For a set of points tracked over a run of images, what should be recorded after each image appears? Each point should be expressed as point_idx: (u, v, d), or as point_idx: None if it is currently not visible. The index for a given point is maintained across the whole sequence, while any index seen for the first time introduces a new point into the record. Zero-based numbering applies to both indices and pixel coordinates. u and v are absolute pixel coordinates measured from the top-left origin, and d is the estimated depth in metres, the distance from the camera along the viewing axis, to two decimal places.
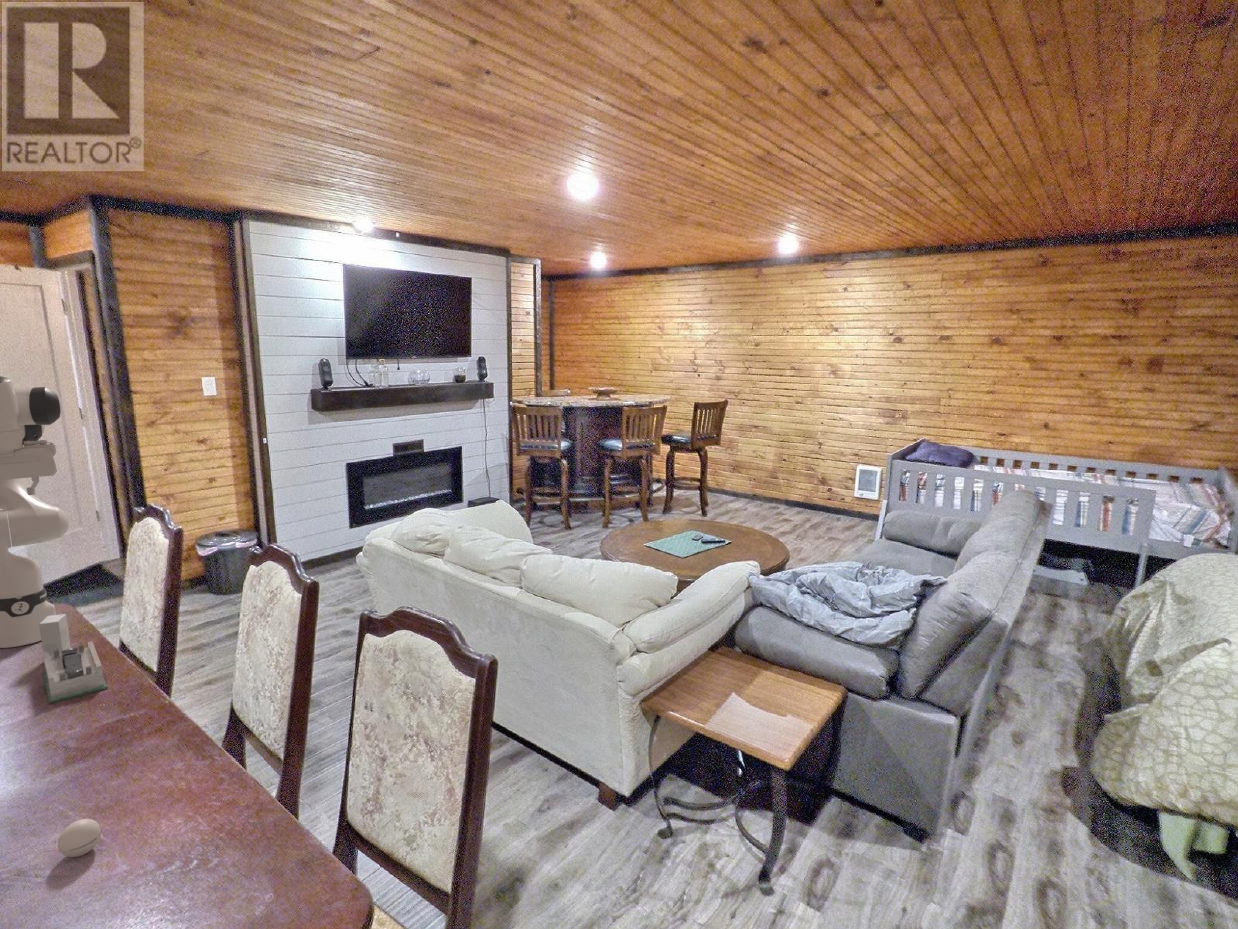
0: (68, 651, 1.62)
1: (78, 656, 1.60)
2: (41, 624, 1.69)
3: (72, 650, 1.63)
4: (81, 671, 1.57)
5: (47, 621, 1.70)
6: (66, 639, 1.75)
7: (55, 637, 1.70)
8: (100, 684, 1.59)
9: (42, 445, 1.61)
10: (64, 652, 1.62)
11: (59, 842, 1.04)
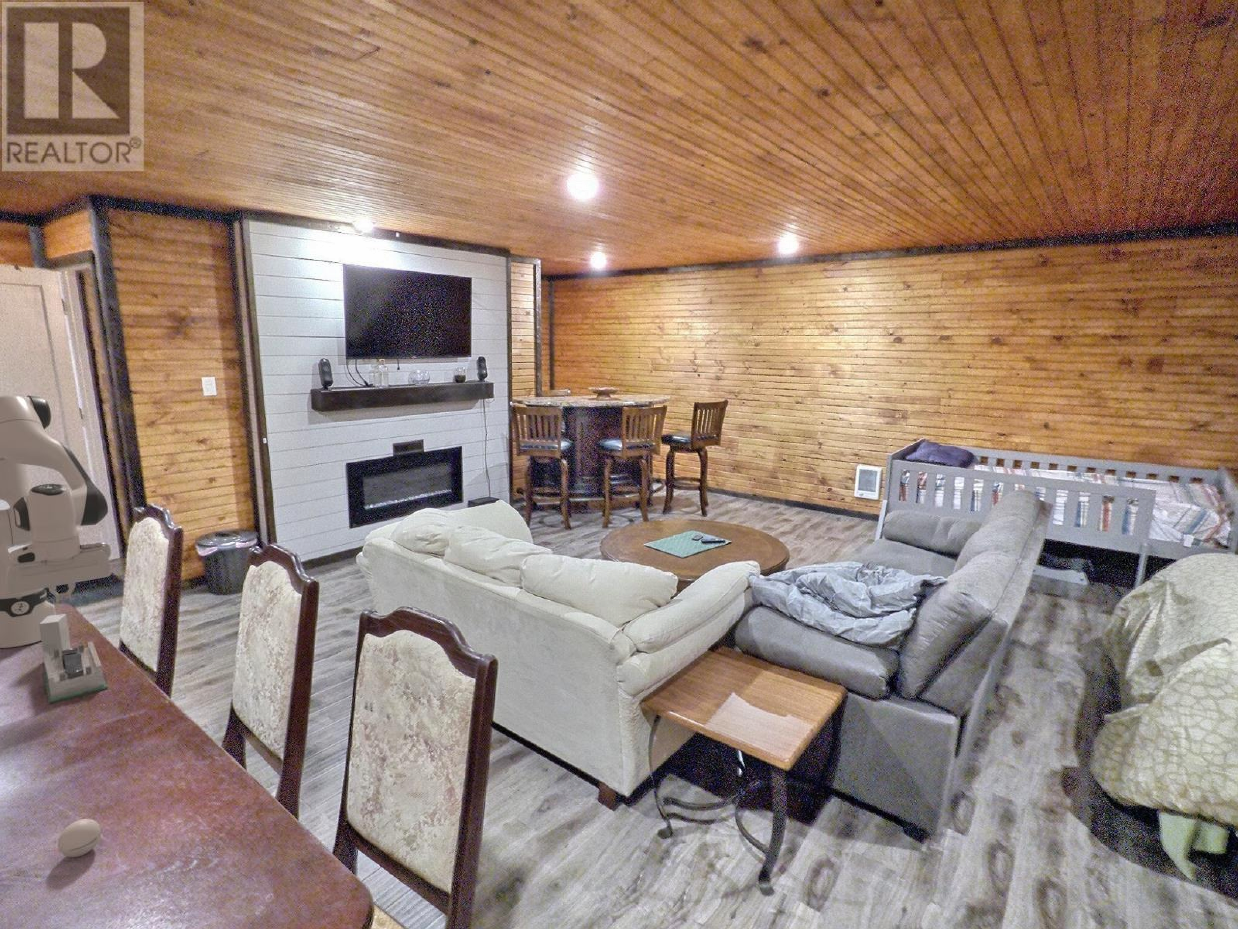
0: (68, 651, 1.62)
1: (78, 656, 1.60)
2: (41, 624, 1.69)
3: (72, 650, 1.63)
4: (81, 671, 1.57)
5: (47, 621, 1.70)
6: (66, 639, 1.75)
7: (55, 637, 1.70)
8: (100, 684, 1.59)
9: (98, 548, 1.64)
10: (64, 652, 1.62)
11: (59, 842, 1.04)
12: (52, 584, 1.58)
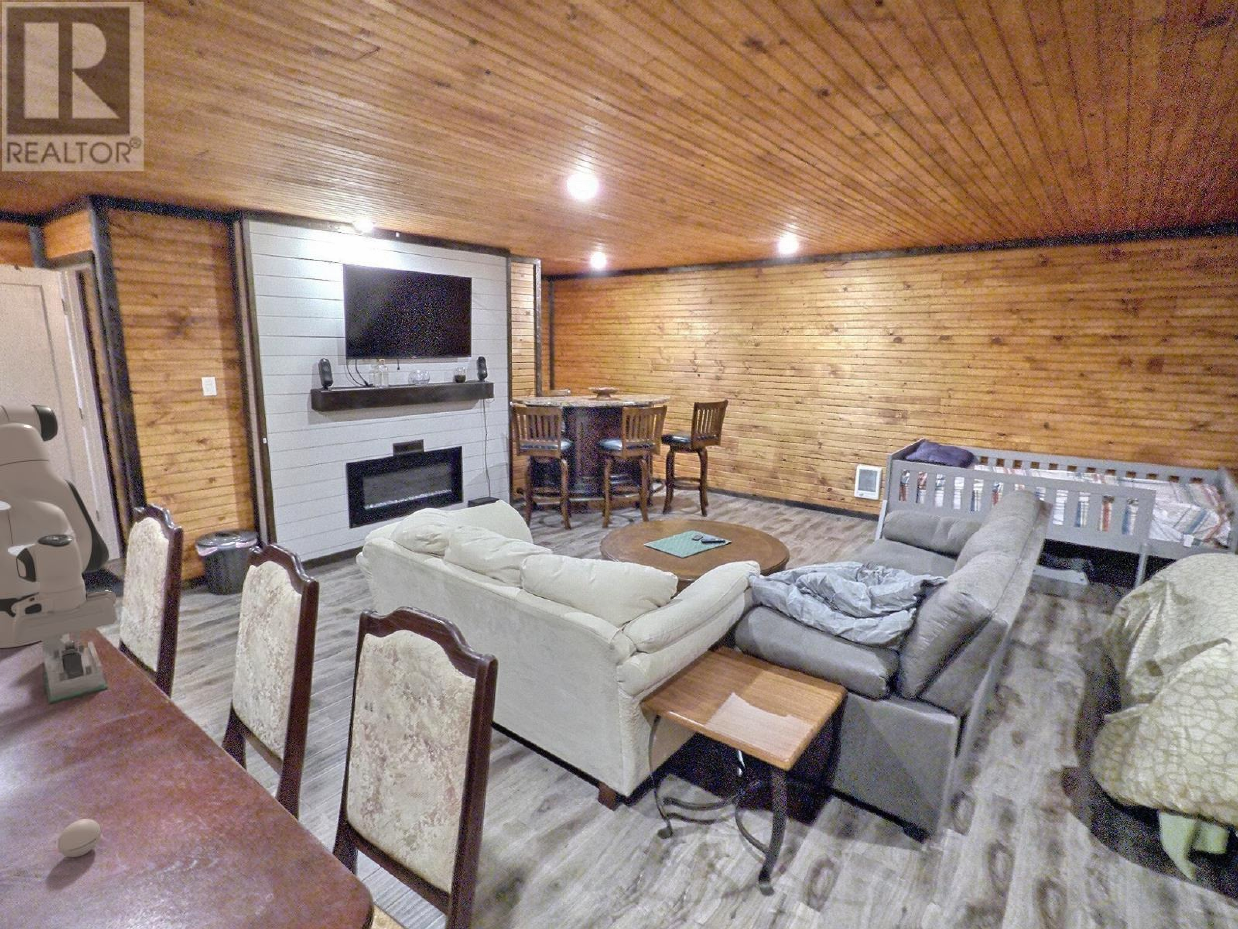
0: (68, 651, 1.62)
1: (78, 656, 1.60)
2: None
3: (72, 650, 1.63)
4: (81, 671, 1.57)
5: None
6: (66, 639, 1.75)
7: None
8: (100, 684, 1.59)
9: (104, 595, 1.66)
10: (64, 652, 1.62)
11: (59, 842, 1.04)
12: (58, 633, 1.60)
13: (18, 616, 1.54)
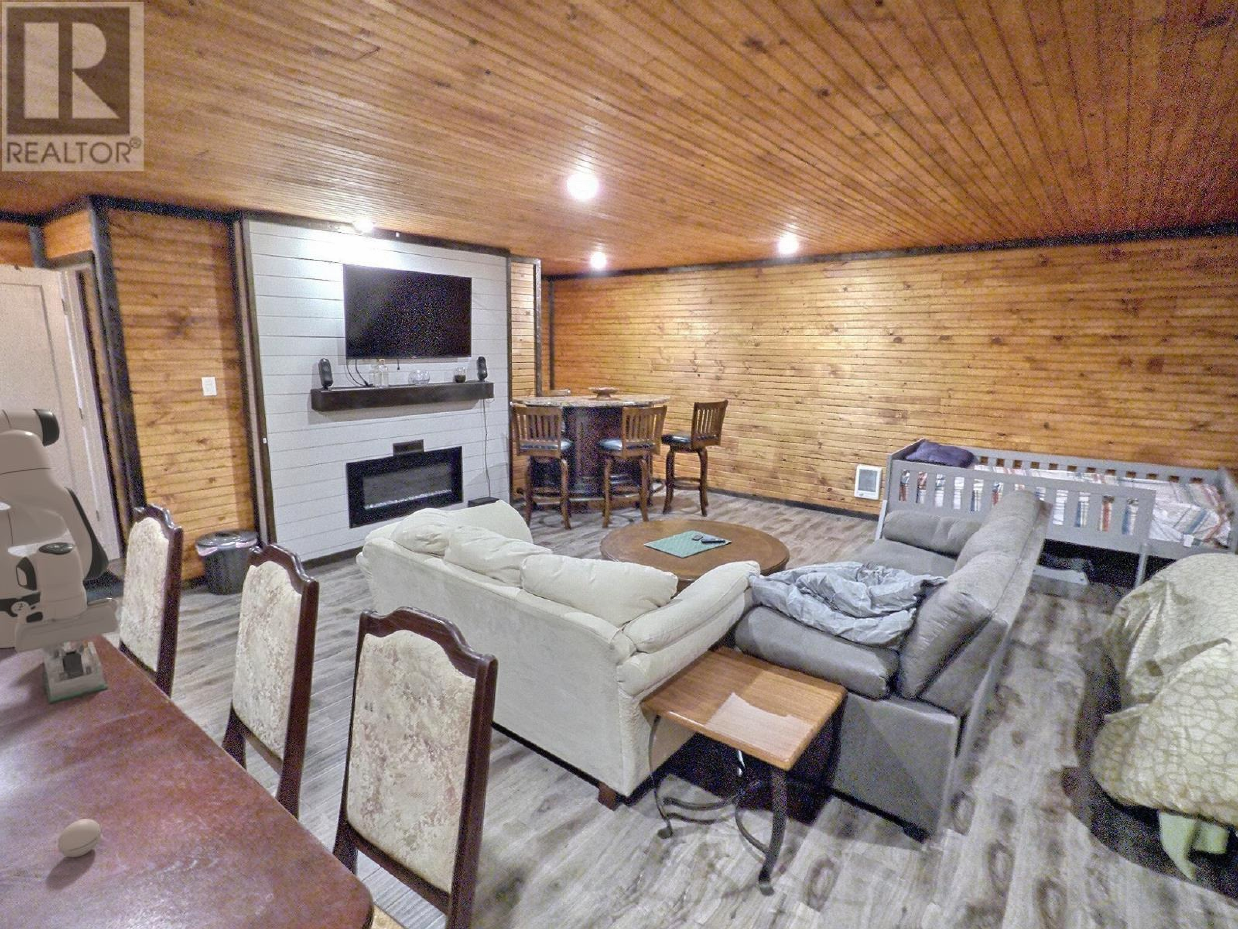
0: None
1: (78, 656, 1.60)
2: None
3: None
4: (81, 671, 1.57)
5: None
6: None
7: None
8: (100, 684, 1.59)
9: (105, 603, 1.67)
10: None
11: (59, 842, 1.04)
12: (60, 641, 1.60)
13: (19, 624, 1.55)
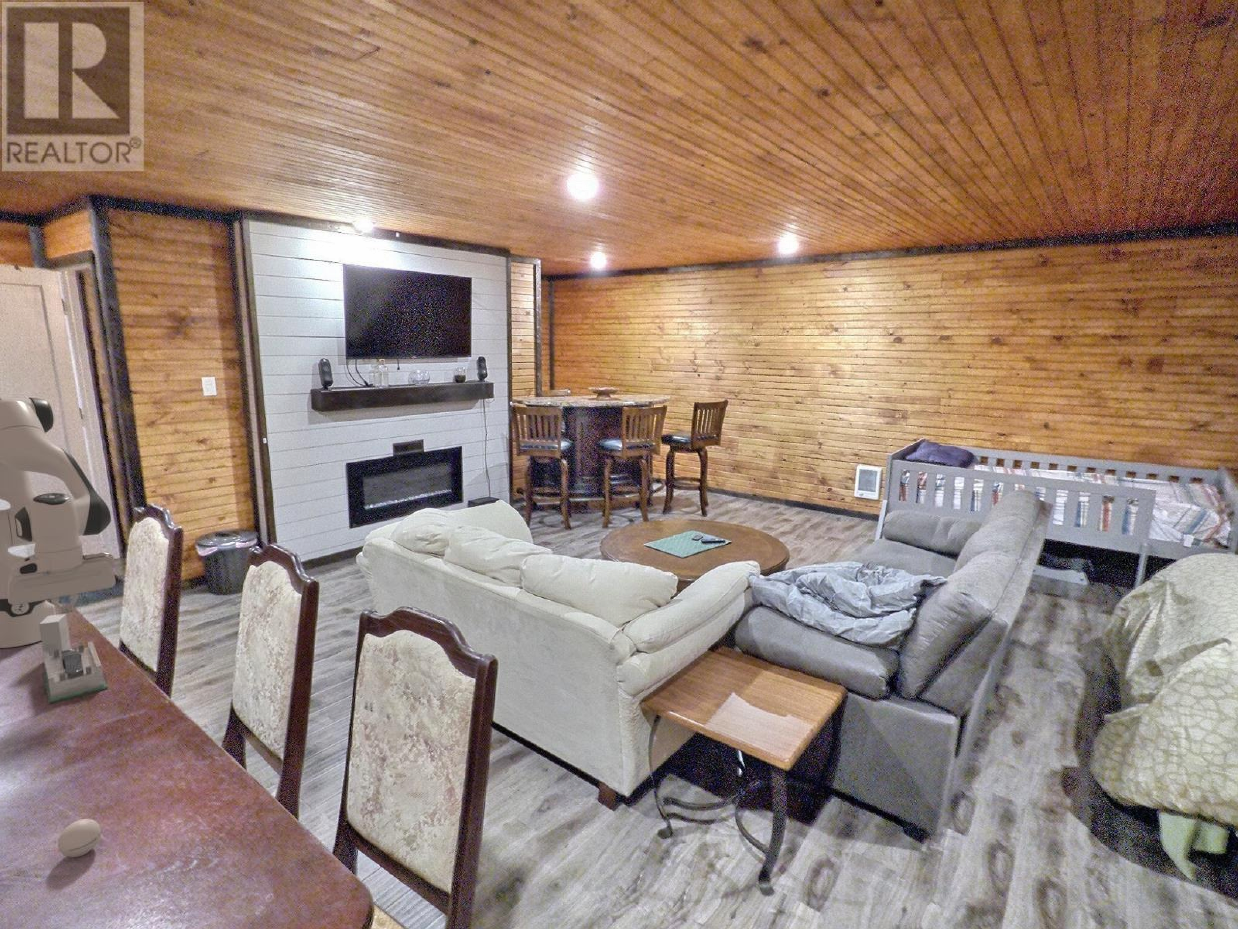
0: None
1: (78, 656, 1.60)
2: (41, 624, 1.69)
3: None
4: (81, 671, 1.57)
5: (47, 621, 1.70)
6: (66, 639, 1.75)
7: (55, 637, 1.70)
8: (100, 684, 1.59)
9: (102, 558, 1.61)
10: None
11: (59, 842, 1.04)
12: (55, 595, 1.54)
13: (13, 576, 1.49)
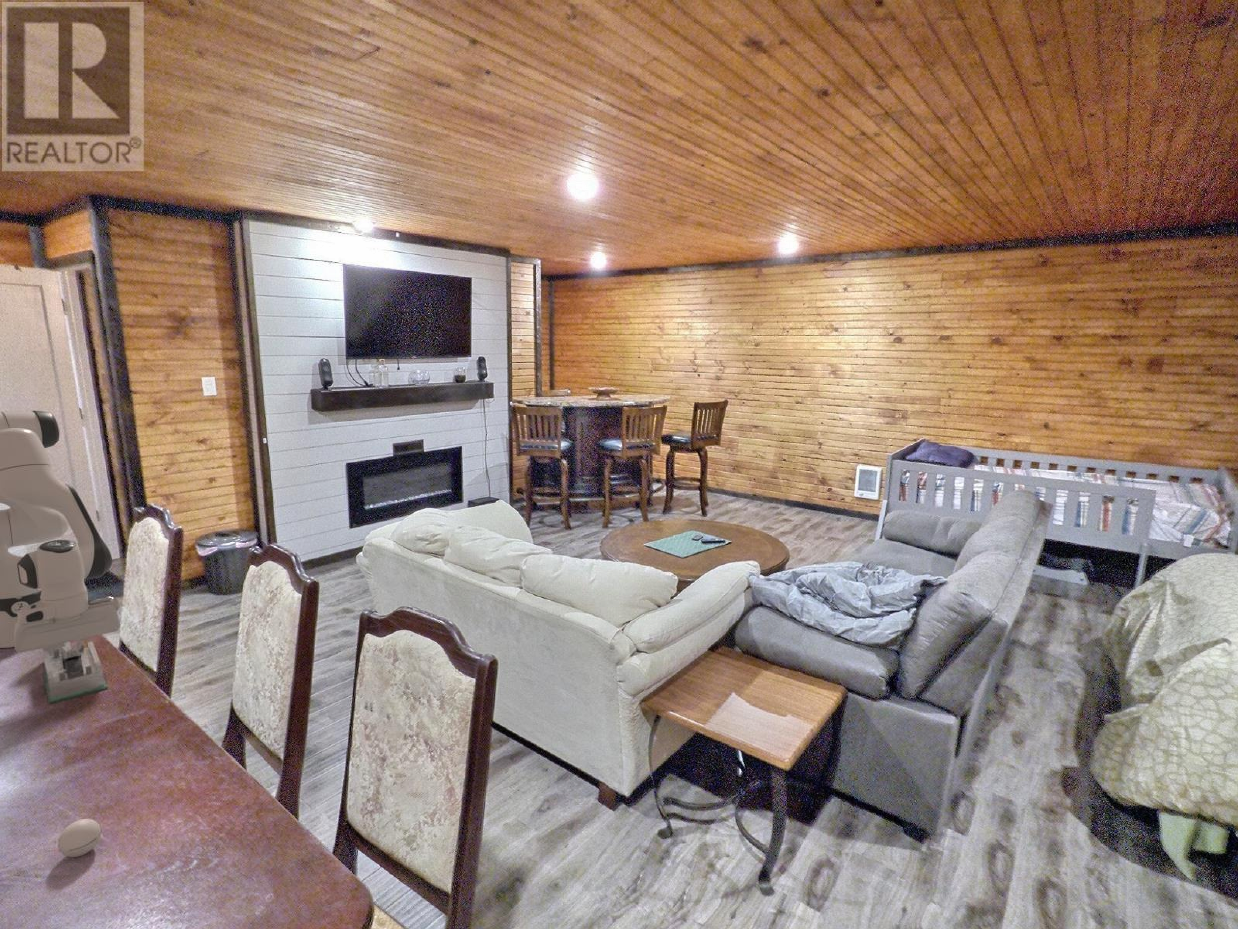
0: None
1: (78, 656, 1.60)
2: None
3: None
4: (81, 671, 1.57)
5: None
6: None
7: None
8: (100, 684, 1.59)
9: (107, 602, 1.63)
10: None
11: (59, 842, 1.04)
12: (60, 641, 1.56)
13: (19, 624, 1.51)
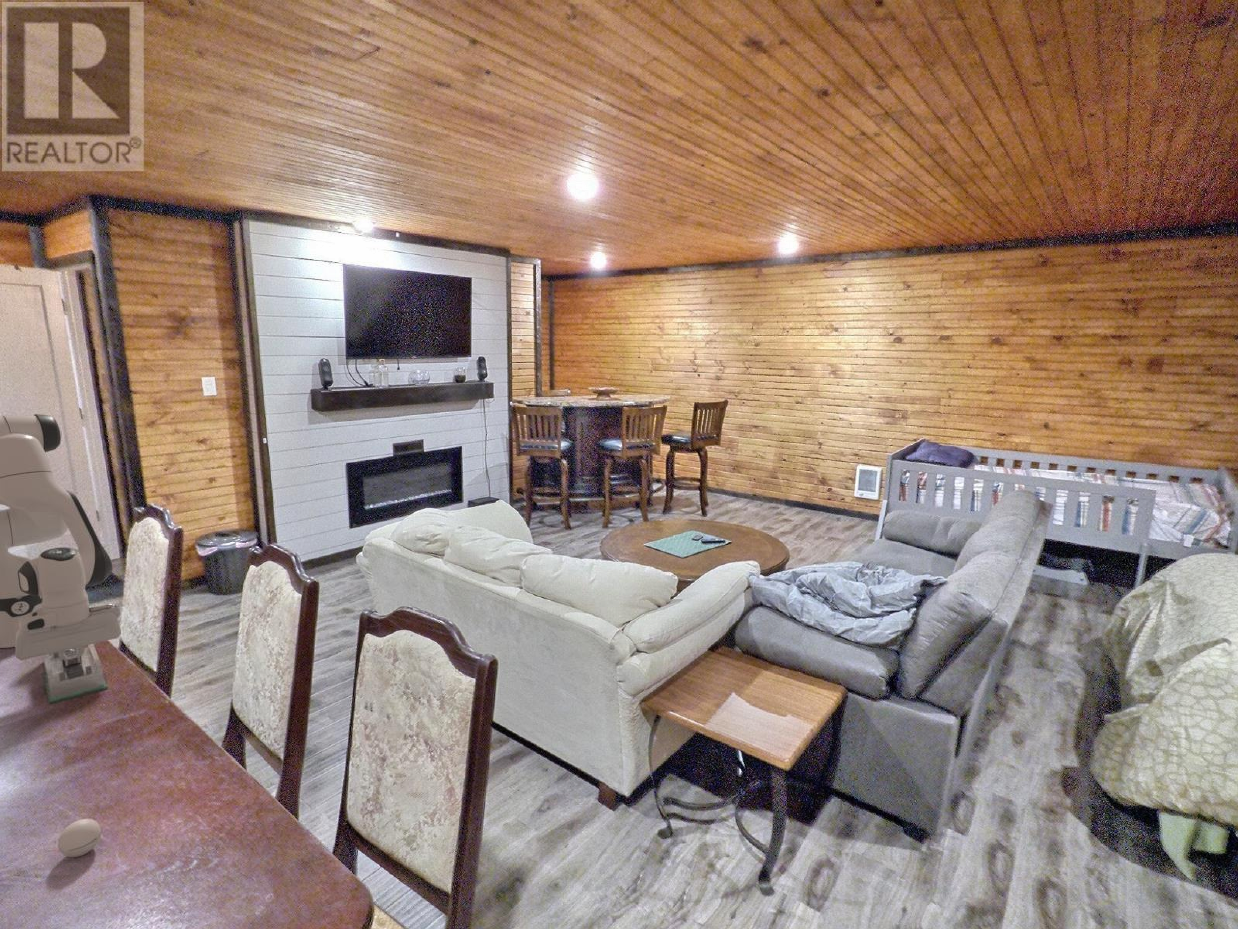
0: None
1: None
2: None
3: None
4: (81, 671, 1.57)
5: None
6: None
7: None
8: (100, 684, 1.59)
9: (107, 609, 1.63)
10: None
11: (59, 842, 1.04)
12: (61, 649, 1.57)
13: (20, 631, 1.51)
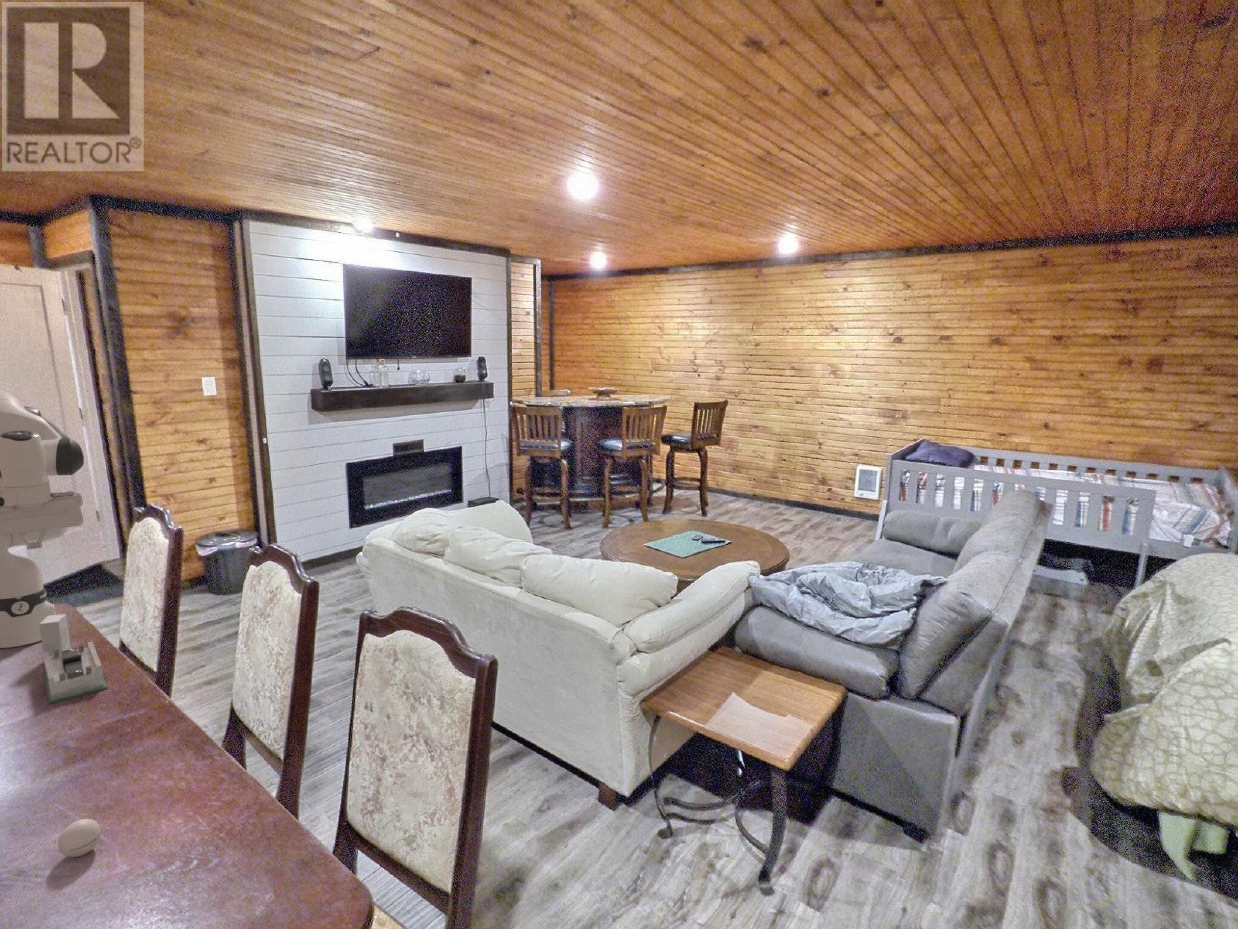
0: None
1: (79, 662, 1.61)
2: (41, 624, 1.69)
3: None
4: (81, 671, 1.57)
5: (47, 621, 1.70)
6: (66, 639, 1.75)
7: (55, 637, 1.70)
8: (100, 684, 1.59)
9: (69, 496, 1.65)
10: None
11: (59, 842, 1.04)
12: (22, 530, 1.58)
13: None
